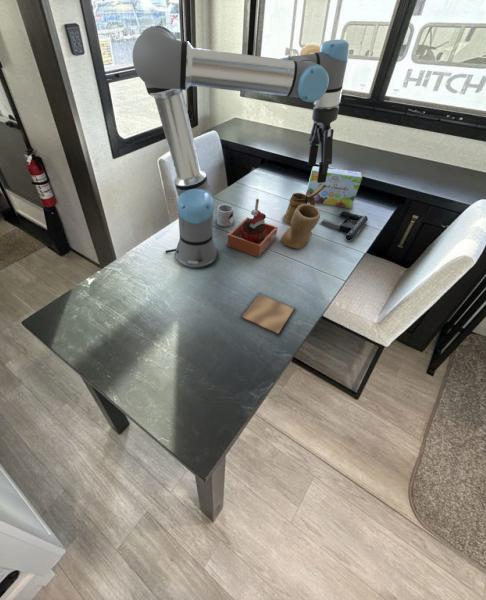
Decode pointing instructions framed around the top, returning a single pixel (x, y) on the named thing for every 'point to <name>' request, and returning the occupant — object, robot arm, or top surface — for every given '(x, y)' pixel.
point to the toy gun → (348, 228)
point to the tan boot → (301, 226)
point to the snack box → (335, 187)
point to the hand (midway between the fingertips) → (316, 172)
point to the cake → (254, 227)
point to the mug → (225, 215)
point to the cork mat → (268, 313)
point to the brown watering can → (300, 203)
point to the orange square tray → (248, 245)
